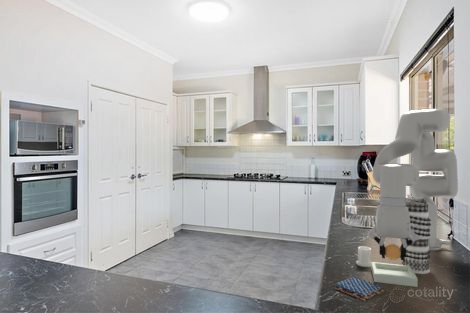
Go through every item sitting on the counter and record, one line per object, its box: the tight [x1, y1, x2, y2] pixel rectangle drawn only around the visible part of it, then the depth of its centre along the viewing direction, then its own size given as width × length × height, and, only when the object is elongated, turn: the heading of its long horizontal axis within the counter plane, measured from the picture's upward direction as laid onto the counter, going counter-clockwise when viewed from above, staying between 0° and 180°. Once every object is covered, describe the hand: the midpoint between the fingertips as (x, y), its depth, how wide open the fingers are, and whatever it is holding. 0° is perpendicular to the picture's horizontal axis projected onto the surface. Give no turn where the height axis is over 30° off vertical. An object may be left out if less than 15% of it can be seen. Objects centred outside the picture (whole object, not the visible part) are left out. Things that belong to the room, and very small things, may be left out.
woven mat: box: [334, 276, 384, 301], centre depth 93 cm, size 10×11×2 cm
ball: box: [385, 243, 401, 261], centre depth 103 cm, size 5×5×5 cm
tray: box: [370, 261, 419, 288], centre depth 103 cm, size 12×12×2 cm
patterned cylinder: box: [401, 196, 431, 275], centre depth 110 cm, size 9×9×25 cm
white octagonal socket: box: [355, 245, 372, 268], centre depth 115 cm, size 6×6×6 cm
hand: (392, 257), depth 103 cm, fingers closed on ball, 4 cm apart
